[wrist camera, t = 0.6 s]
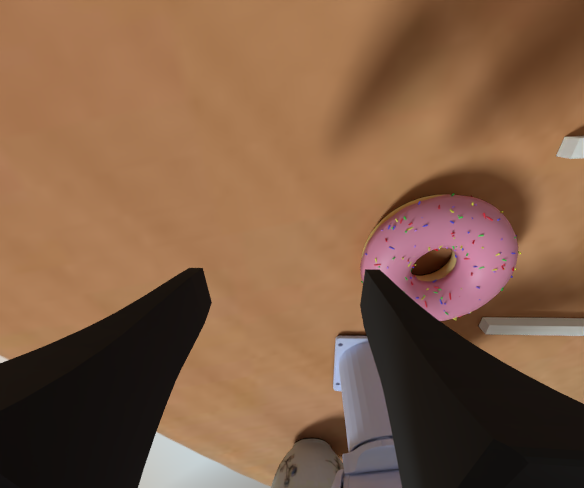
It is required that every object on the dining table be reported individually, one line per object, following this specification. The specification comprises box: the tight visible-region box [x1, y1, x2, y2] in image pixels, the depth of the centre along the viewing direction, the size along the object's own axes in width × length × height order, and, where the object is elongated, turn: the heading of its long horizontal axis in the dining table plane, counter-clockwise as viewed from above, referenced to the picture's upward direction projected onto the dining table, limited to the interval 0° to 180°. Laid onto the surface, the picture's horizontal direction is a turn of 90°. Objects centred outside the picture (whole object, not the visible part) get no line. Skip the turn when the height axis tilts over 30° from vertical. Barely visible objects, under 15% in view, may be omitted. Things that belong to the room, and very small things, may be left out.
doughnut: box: [361, 193, 521, 321], centre depth 18 cm, size 11×11×4 cm
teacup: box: [271, 439, 344, 488], centre depth 35 cm, size 15×12×8 cm
